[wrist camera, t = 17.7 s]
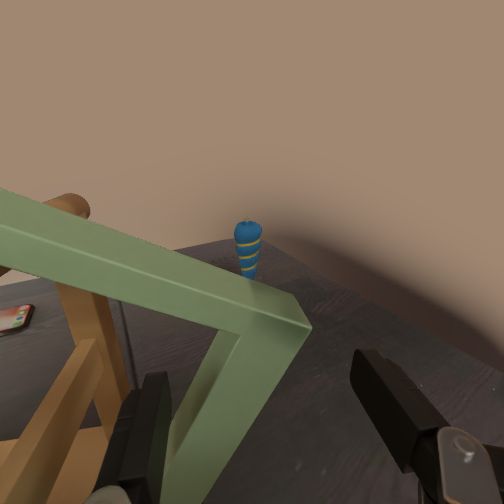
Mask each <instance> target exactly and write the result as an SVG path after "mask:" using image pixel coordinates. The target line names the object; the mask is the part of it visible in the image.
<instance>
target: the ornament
mask: <svg viewBox="0 0 504 504" xmlns="http://www.w3.org/2000/svg"><path fill="white" fill-rule="evenodd" d="M261 233H262V228H261V226H260V225H259V224H258V223H256V222H252V221H249V218H244V222H240V223H238V224H237V226H236V228H235V232H234V237H235V240H236V243H237V245H236V250H237V253H238V255H239V264H240V266H241V275H242V276H243V277H245V278H249V279H251V280H253V279H254V276H255V273H256V270H257V260H258V257H259V248H260V245H261V239H260V236H261Z"/></svg>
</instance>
